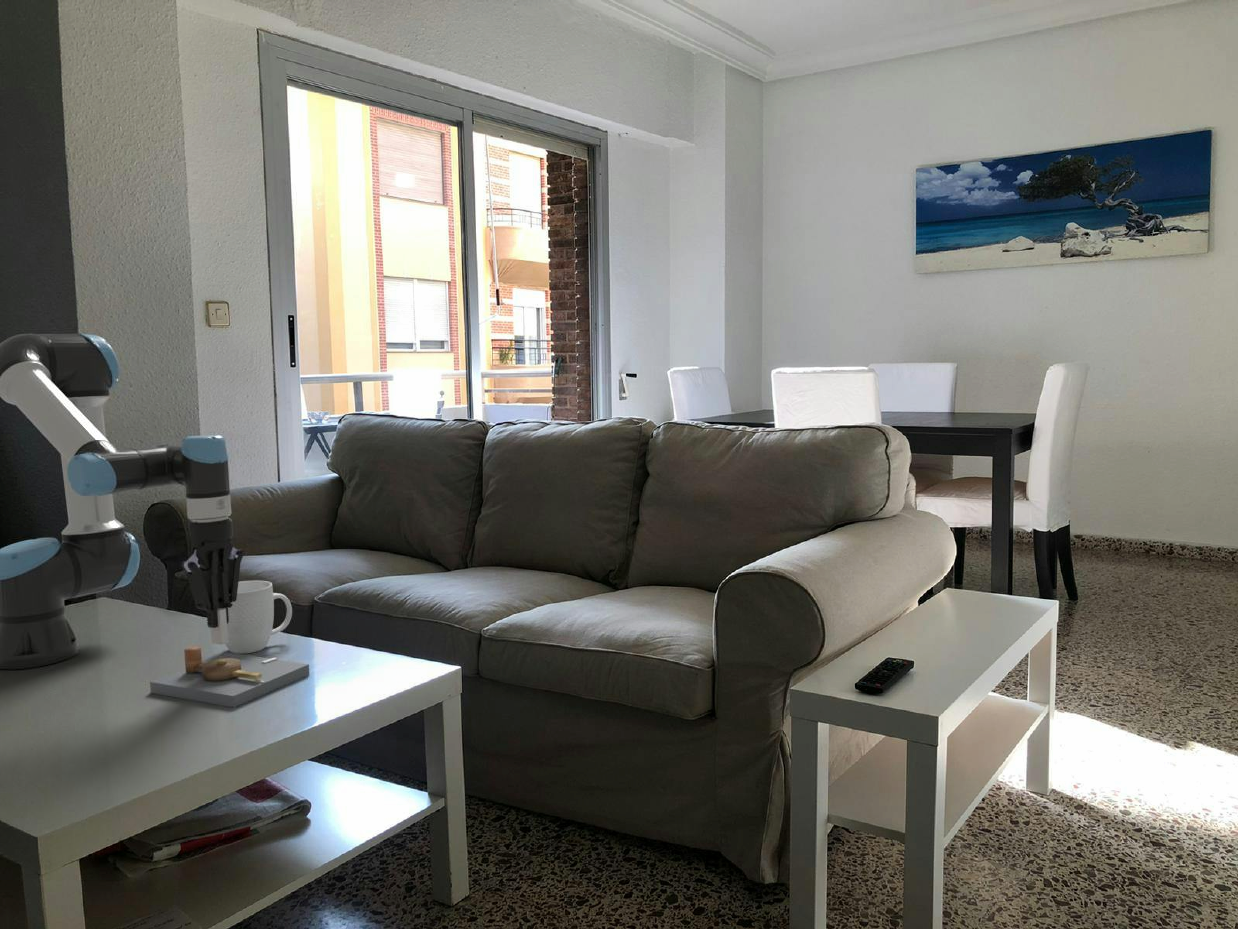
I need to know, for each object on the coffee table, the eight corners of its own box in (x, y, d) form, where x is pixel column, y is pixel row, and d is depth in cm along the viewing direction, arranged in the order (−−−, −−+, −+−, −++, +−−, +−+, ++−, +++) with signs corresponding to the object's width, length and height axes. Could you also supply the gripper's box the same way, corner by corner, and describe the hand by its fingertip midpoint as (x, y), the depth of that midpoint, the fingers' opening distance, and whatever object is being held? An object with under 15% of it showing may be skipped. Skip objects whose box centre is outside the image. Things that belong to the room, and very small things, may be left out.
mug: (283, 634, 206) (280, 574, 205) (303, 645, 198) (299, 583, 196) (211, 648, 197) (207, 586, 195) (228, 661, 188) (224, 596, 187)
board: (150, 692, 171) (149, 680, 171) (230, 662, 187) (229, 651, 187) (234, 707, 163) (233, 694, 162) (309, 674, 179) (309, 662, 179)
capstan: (174, 674, 174) (172, 653, 173) (202, 664, 179) (201, 643, 179) (245, 686, 166) (243, 664, 166) (272, 675, 172) (271, 653, 172)
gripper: (196, 525, 171) (206, 654, 173) (252, 514, 183) (261, 635, 185) (166, 523, 174) (176, 650, 176) (222, 512, 186) (232, 632, 188)
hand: (219, 642), depth 181 cm, fingers closed
